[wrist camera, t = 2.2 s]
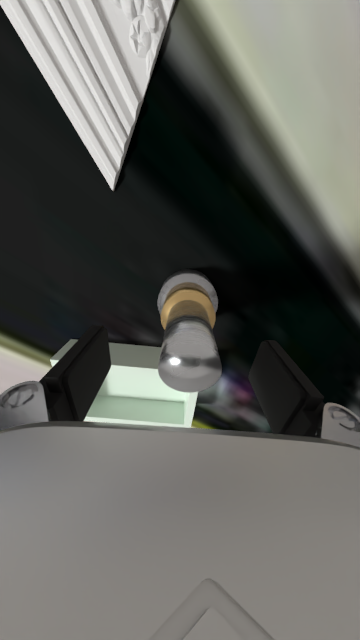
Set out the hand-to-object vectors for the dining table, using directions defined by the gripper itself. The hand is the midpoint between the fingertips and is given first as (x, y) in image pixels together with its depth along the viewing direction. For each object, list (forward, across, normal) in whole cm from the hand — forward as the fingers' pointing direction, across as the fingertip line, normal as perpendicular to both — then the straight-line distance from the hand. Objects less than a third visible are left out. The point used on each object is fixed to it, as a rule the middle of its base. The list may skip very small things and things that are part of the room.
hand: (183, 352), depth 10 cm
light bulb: (+7, 0, 0) cm, 7 cm away
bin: (+10, +6, +13) cm, 17 cm away
